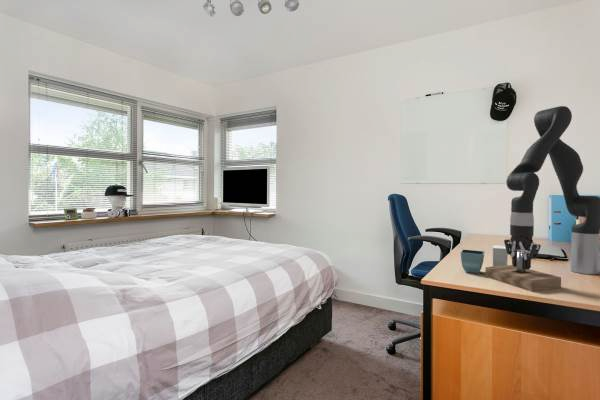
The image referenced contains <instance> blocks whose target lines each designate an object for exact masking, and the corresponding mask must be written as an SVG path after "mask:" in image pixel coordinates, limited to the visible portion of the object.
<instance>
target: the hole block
mask: <svg viewBox="0 0 600 400" xmlns="http://www.w3.org/2000/svg"><path fill="white" fill-rule="evenodd" d="M484 270H485V271H484V272H485V277H486V278H488V279H491V280H494V281H497V282H501V283H504V284H507V285H510V286H512V287H515V288H516V287H517V288H518V289H519V288H520V289H521V290H526V291H529V292H536V291H537V292H538V291H546V290H547V291H548V290H553V289H561V288H562V276H557V275H554V274H549V273H546V272H542V271H538V270H534V269H531V268H530V269H526V274H520V273H517V272H516V267H514V266H513V265H512V264H509V265H508V264H507V265H505V266H494V267H493V266H487V267H486V266H485V269H484Z"/></svg>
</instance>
